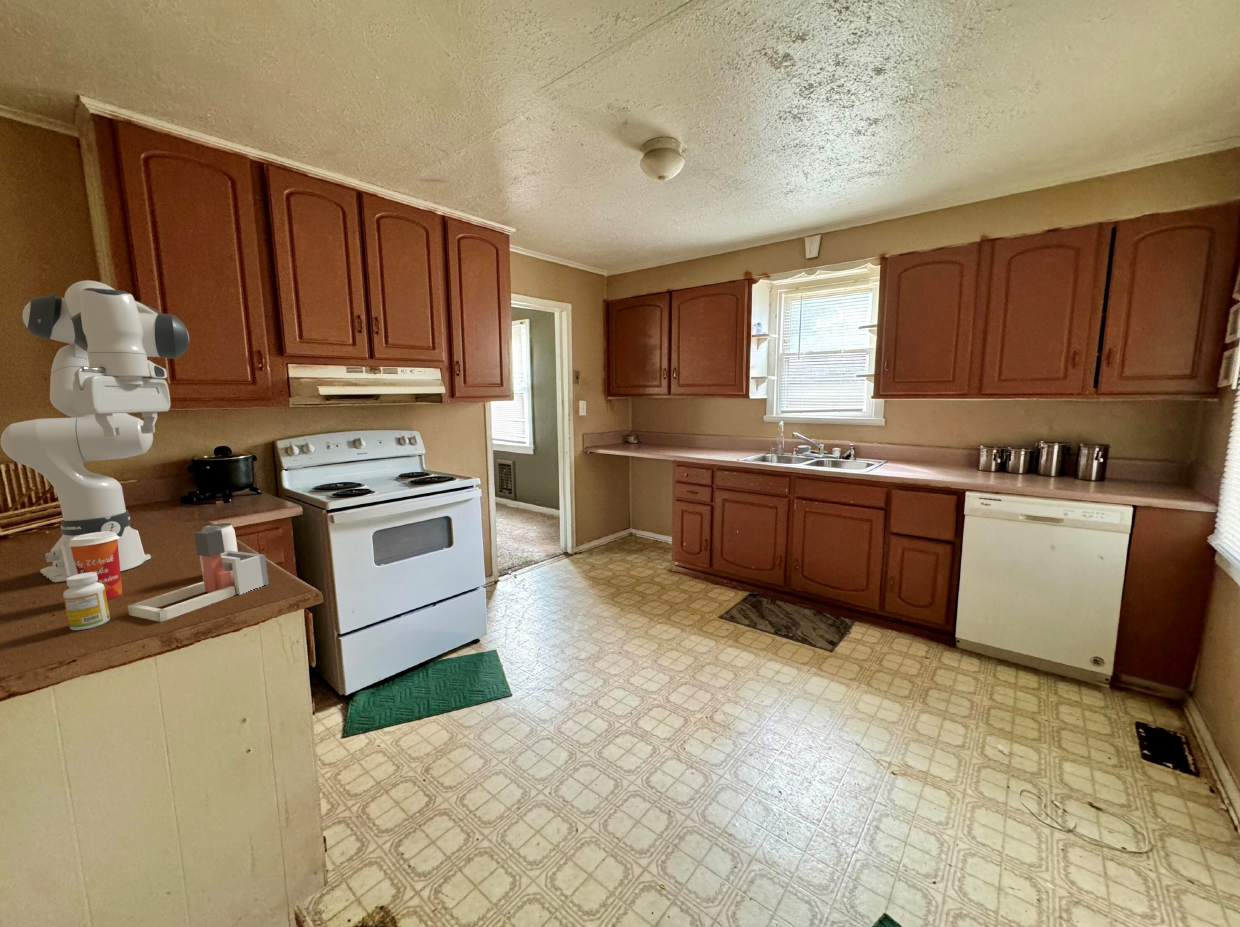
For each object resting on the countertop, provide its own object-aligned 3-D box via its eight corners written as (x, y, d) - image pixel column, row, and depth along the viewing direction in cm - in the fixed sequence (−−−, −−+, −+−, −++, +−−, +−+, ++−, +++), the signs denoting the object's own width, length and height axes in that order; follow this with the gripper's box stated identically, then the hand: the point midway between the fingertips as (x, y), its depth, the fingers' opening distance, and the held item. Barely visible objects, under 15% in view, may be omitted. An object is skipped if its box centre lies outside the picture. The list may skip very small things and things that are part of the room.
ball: (234, 565, 115) (239, 581, 116) (215, 574, 111) (221, 590, 112) (246, 567, 113) (251, 583, 114) (227, 576, 110) (233, 592, 111)
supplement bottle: (89, 619, 98) (80, 571, 97) (118, 617, 99) (110, 569, 98) (61, 631, 93) (51, 581, 92) (92, 629, 94) (83, 579, 92)
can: (221, 578, 119) (214, 529, 117) (199, 577, 120) (192, 529, 119) (247, 569, 125) (240, 522, 124) (225, 568, 127) (219, 522, 125)
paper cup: (71, 607, 105) (58, 542, 103) (88, 595, 111) (77, 533, 109) (121, 599, 108) (110, 536, 106) (135, 587, 115) (125, 528, 113)
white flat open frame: (129, 615, 100) (127, 605, 99) (204, 590, 112) (203, 581, 112) (161, 621, 96) (159, 612, 96) (235, 595, 108) (234, 586, 108)
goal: (204, 588, 113) (199, 554, 112) (234, 579, 118) (229, 546, 117) (240, 594, 108) (235, 559, 107) (268, 584, 114) (264, 550, 113)
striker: (200, 592, 109) (190, 532, 107) (215, 587, 112) (206, 528, 110) (218, 596, 107) (208, 534, 105) (233, 590, 110) (224, 530, 108)
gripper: (93, 365, 95) (105, 438, 97) (172, 370, 115) (181, 431, 117) (54, 366, 94) (68, 439, 96) (141, 371, 114) (151, 432, 116)
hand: (131, 435), depth 106 cm, fingers open, 8 cm apart
